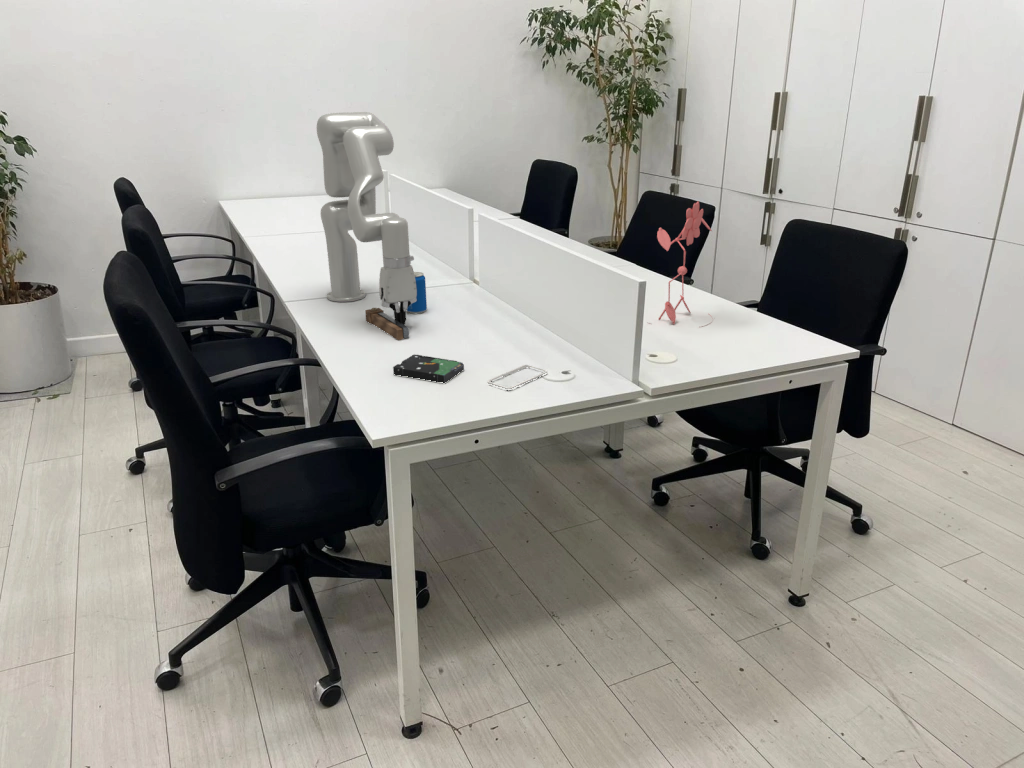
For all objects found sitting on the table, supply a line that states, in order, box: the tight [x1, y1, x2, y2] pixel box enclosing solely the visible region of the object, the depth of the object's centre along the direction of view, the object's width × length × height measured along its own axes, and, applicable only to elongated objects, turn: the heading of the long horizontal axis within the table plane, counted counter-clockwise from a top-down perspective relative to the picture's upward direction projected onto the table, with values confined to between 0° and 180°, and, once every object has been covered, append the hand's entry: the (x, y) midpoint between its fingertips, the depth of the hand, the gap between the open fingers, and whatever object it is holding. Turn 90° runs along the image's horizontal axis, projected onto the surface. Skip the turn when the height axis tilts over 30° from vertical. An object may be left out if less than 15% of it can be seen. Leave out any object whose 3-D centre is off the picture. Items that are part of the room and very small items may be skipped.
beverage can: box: [406, 271, 428, 314], centre depth 240 cm, size 6×6×12 cm
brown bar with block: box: [364, 307, 404, 341], centre depth 225 cm, size 22×4×4 cm, turn 33°
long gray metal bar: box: [378, 312, 410, 339], centre depth 224 cm, size 18×2×3 cm, turn 33°
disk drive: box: [392, 353, 465, 384], centre depth 194 cm, size 10×3×15 cm
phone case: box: [486, 364, 548, 389], centre depth 189 cm, size 7×1×15 cm
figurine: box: [646, 200, 713, 328], centre depth 225 cm, size 15×26×35 cm, turn 142°
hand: (400, 323), depth 226 cm, fingers closed
